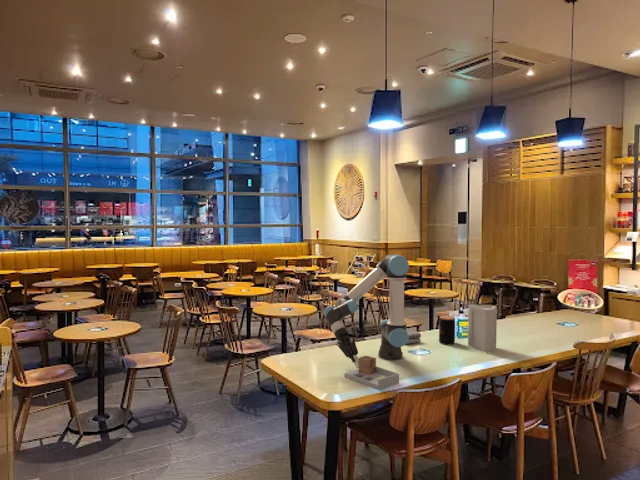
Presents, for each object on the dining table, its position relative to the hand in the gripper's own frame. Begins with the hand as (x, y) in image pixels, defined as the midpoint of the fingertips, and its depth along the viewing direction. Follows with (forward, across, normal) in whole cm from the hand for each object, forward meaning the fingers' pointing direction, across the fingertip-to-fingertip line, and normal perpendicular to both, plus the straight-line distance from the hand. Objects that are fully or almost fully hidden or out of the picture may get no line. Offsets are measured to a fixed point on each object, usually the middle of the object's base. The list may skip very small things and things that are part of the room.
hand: (358, 366), depth 255 cm
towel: (-20, -76, -28) cm, 84 cm away
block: (+5, -2, +2) cm, 6 cm away
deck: (+10, +1, +4) cm, 11 cm away
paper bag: (+12, -104, +6) cm, 105 cm away
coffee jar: (-5, -96, -12) cm, 97 cm away
